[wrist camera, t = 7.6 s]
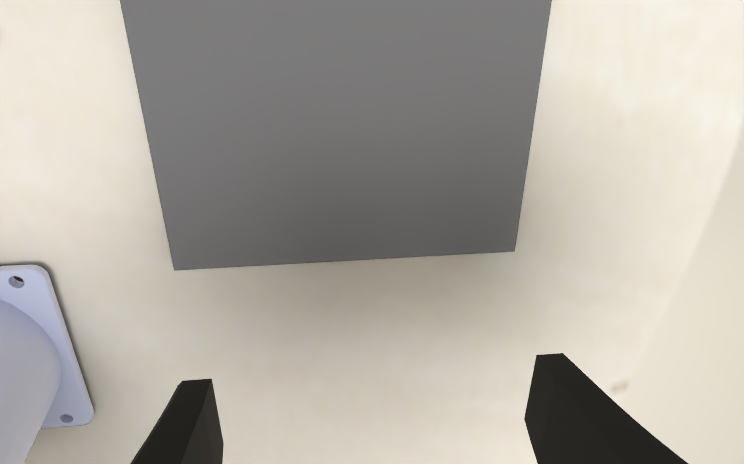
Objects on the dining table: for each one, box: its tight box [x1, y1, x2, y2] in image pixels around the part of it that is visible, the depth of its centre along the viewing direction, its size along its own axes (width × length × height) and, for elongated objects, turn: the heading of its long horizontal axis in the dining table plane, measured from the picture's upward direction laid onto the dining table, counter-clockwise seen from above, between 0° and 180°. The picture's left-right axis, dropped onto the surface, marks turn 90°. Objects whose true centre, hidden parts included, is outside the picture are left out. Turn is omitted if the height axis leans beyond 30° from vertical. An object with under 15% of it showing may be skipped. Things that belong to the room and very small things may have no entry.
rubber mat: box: [120, 0, 552, 270], centre depth 20 cm, size 13×13×1 cm
